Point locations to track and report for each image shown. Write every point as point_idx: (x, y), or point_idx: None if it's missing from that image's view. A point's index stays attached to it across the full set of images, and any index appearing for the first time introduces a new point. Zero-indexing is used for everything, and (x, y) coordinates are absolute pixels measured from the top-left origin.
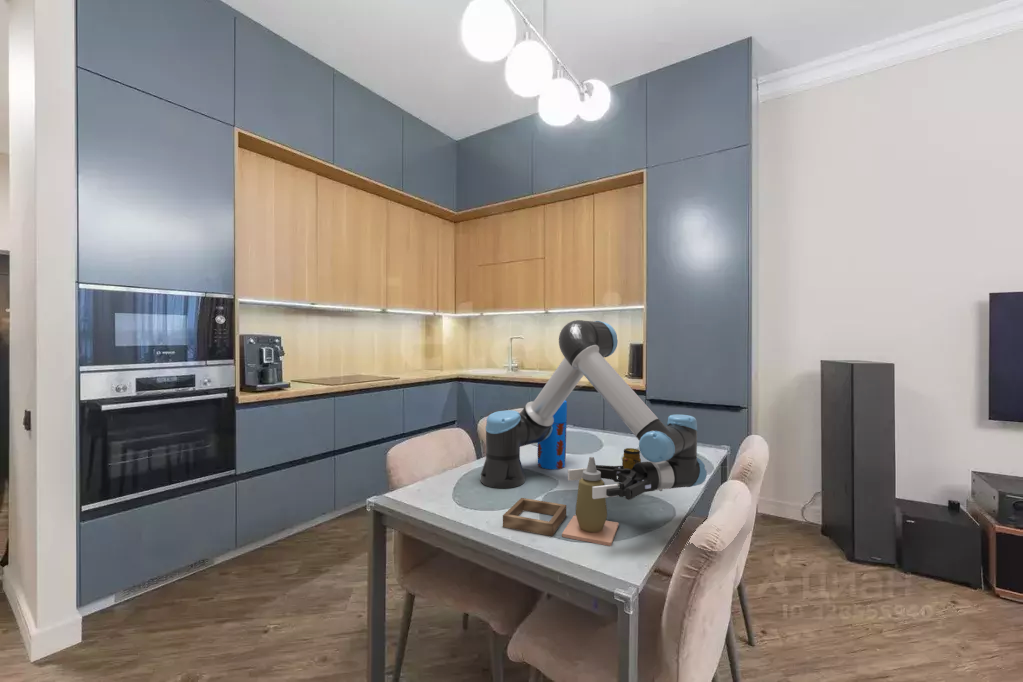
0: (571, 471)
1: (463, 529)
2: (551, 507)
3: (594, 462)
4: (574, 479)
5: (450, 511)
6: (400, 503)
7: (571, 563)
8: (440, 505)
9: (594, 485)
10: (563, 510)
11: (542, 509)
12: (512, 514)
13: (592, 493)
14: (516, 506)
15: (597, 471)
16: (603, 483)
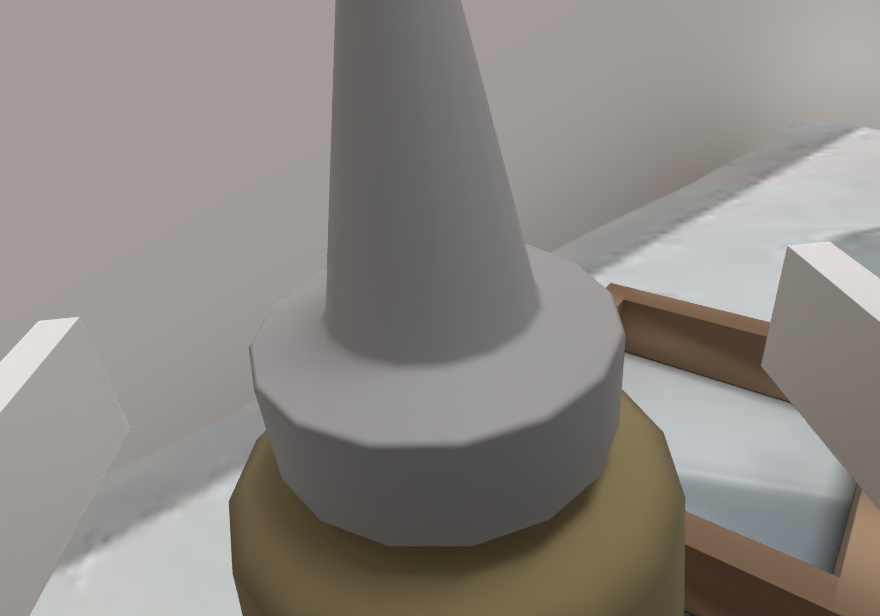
0: (804, 278)
1: (588, 248)
2: (849, 530)
3: (342, 125)
4: (805, 411)
5: (760, 221)
6: (801, 149)
7: (146, 510)
8: (818, 203)
9: (262, 441)
10: (755, 586)
11: (855, 497)
12: (673, 330)
13: (107, 387)
14: (747, 330)
15: (392, 378)
16: (279, 613)
